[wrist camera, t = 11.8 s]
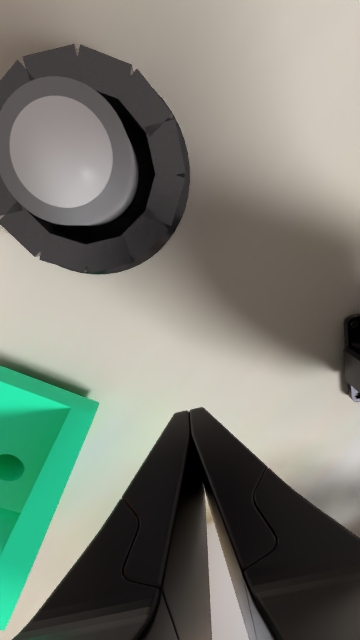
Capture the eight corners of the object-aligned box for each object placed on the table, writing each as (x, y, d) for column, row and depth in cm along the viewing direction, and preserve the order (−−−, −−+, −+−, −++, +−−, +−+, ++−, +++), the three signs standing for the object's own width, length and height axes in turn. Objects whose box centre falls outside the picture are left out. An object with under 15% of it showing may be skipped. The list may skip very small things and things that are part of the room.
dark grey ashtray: (165, 41, 16) (164, 7, 14) (205, 251, 19) (211, 255, 17) (-38, 90, 16) (-74, 66, 14) (35, 290, 20) (16, 299, 17)
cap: (126, 109, 16) (108, 58, 11) (150, 214, 18) (144, 209, 13) (28, 132, 17) (-32, 92, 12) (60, 234, 18) (20, 237, 13)
